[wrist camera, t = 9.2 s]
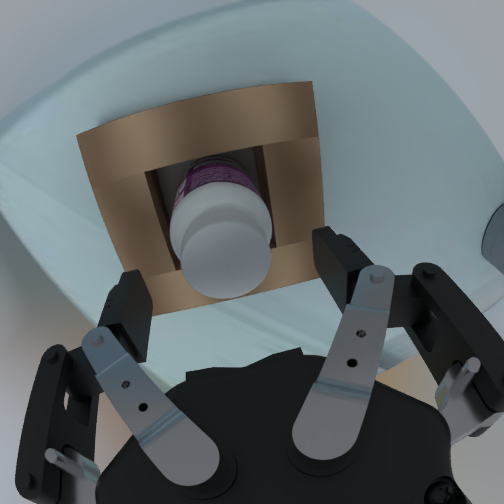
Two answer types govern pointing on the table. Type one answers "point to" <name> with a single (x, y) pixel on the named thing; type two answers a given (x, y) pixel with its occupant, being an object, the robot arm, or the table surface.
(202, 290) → the pill bottle
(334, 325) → the table surface
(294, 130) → the well block
